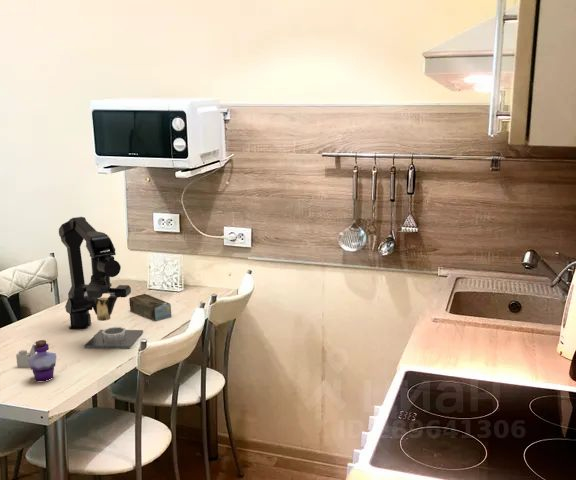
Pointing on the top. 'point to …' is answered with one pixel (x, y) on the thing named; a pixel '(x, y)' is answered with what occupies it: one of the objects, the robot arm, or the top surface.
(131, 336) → the ring block
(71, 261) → the robot arm
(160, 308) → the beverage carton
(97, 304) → the tan cylinder
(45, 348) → the potion bottle
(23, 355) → the grey notched block
